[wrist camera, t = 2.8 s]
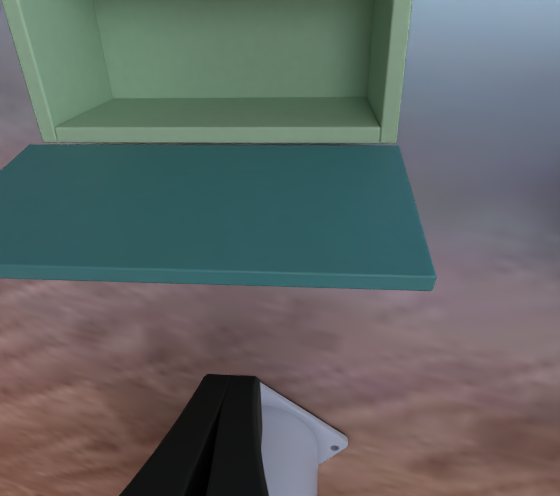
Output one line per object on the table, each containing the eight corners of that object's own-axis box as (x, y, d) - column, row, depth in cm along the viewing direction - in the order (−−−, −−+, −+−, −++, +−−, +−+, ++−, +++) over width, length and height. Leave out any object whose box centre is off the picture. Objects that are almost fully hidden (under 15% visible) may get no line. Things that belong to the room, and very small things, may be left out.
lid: (399, 145, 12) (397, 157, 12) (29, 144, 13) (34, 156, 13) (437, 277, 8) (433, 291, 8) (-105, 262, 9) (-94, 276, 9)
